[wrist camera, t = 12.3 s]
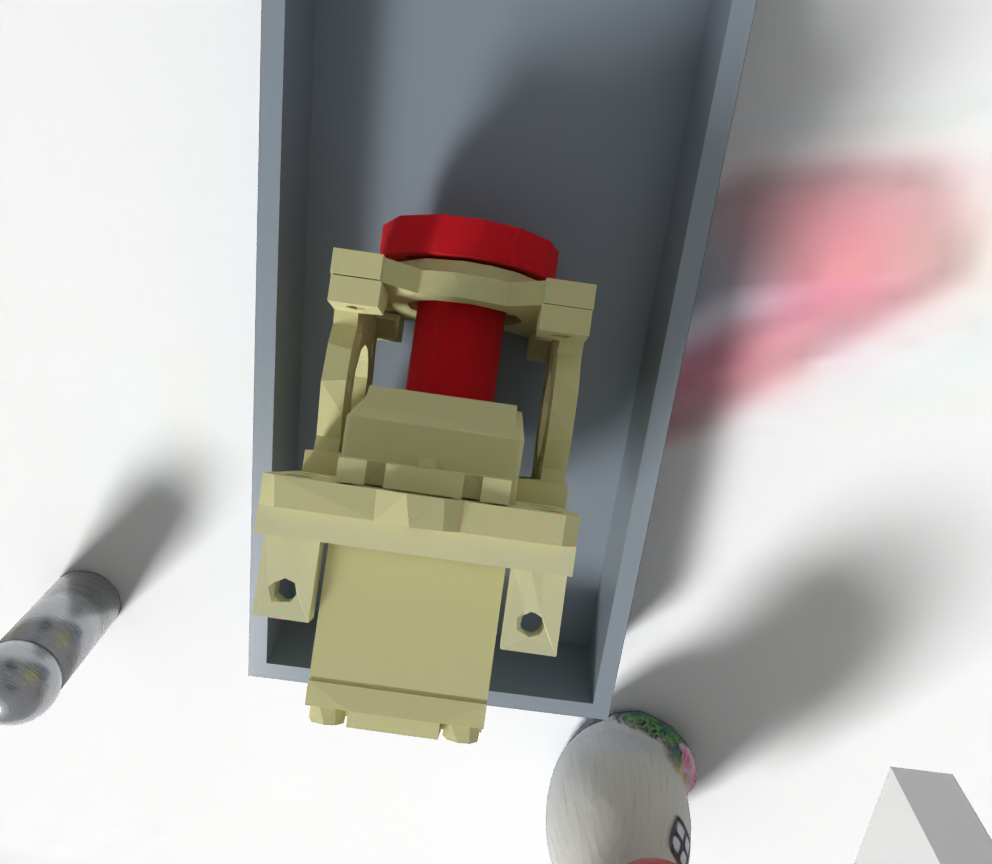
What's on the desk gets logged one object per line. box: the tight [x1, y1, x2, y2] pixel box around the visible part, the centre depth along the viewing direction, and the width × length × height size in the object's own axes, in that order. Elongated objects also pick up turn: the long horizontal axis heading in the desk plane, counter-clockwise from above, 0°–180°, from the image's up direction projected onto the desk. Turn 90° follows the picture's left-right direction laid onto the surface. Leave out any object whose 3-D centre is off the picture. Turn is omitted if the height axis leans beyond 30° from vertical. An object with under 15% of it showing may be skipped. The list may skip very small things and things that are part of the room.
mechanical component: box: [252, 214, 597, 744], centre depth 28 cm, size 8×17×20 cm, turn 172°
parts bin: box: [248, 0, 757, 720], centre depth 32 cm, size 29×14×4 cm, turn 173°
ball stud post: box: [0, 571, 120, 725], centre depth 36 cm, size 3×3×7 cm
